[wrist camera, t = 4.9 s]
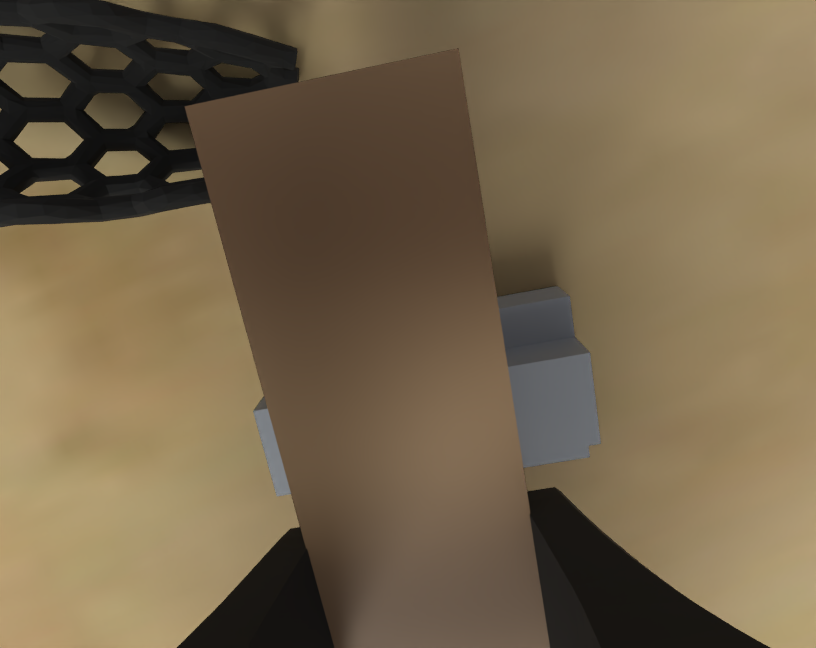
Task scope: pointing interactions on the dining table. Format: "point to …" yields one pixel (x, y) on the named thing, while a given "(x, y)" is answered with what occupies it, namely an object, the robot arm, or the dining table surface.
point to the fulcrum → (522, 384)
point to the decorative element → (126, 31)
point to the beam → (380, 349)
